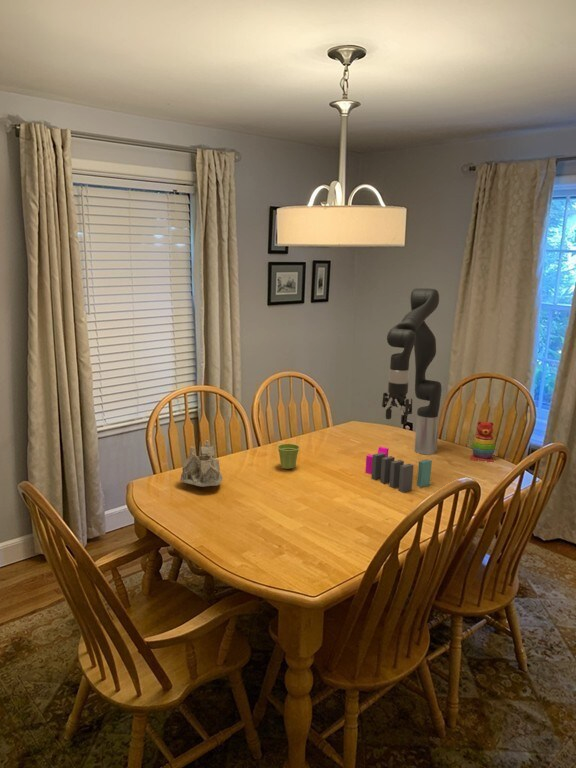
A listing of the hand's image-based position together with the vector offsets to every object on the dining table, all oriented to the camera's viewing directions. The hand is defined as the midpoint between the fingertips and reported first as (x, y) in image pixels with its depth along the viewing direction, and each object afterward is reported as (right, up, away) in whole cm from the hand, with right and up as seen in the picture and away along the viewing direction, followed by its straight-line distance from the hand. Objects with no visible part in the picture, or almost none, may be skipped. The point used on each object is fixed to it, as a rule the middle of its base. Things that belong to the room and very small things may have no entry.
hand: (395, 421), depth 219 cm
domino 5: (+11, -25, -1) cm, 27 cm away
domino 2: (-3, -24, +2) cm, 24 cm away
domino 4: (+2, -26, -6) cm, 27 cm away
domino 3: (0, -25, -2) cm, 25 cm away
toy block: (-4, -21, +16) cm, 27 cm away
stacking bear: (+44, -20, +30) cm, 57 cm away
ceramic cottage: (-76, -23, -3) cm, 79 cm away
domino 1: (-6, -23, +6) cm, 25 cm away
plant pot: (-42, -20, +16) cm, 50 cm away
